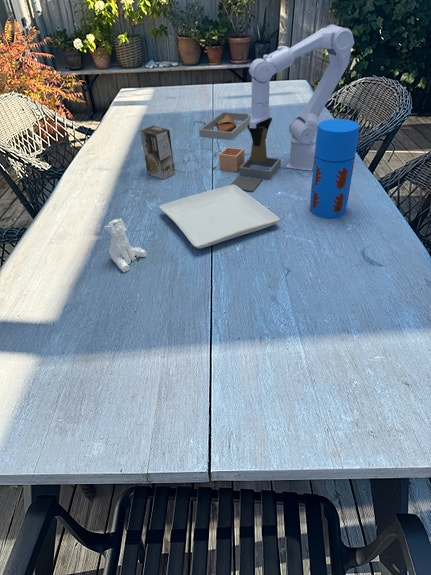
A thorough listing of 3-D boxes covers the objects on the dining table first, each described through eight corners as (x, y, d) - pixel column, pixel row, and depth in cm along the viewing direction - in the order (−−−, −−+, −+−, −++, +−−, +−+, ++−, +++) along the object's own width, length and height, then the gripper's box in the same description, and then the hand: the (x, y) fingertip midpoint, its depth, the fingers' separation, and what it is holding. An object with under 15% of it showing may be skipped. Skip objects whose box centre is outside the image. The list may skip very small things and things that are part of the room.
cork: (265, 163, 142) (267, 130, 135) (248, 161, 144) (249, 129, 137) (268, 156, 147) (270, 125, 140) (251, 155, 148) (252, 123, 141)
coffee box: (176, 174, 151) (170, 129, 141) (162, 180, 147) (156, 135, 137) (159, 168, 156) (153, 124, 146) (146, 174, 152) (139, 130, 142)
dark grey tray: (253, 120, 192) (253, 114, 190) (232, 139, 174) (231, 132, 172) (223, 118, 197) (222, 111, 195) (199, 136, 180) (198, 129, 178)
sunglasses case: (214, 122, 193) (220, 109, 189) (227, 129, 195) (233, 115, 192) (218, 134, 179) (225, 120, 175) (232, 141, 181) (239, 127, 178)
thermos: (347, 203, 126) (361, 119, 111) (344, 220, 119) (358, 133, 103) (312, 199, 130) (320, 117, 114) (306, 216, 122) (314, 131, 106)
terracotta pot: (244, 164, 153) (244, 149, 150) (237, 172, 149) (236, 156, 145) (227, 162, 156) (226, 147, 152) (219, 170, 151) (218, 154, 147)
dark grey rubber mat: (262, 181, 142) (262, 179, 142) (252, 192, 136) (252, 190, 135) (238, 177, 145) (238, 176, 145) (228, 188, 139) (228, 187, 139)
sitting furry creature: (125, 274, 105) (115, 234, 97) (101, 265, 109) (89, 226, 101) (148, 255, 111) (140, 216, 103) (124, 247, 115) (115, 209, 107)
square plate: (196, 258, 109) (195, 246, 107) (159, 215, 128) (157, 204, 126) (281, 229, 118) (281, 217, 116) (234, 192, 137) (234, 182, 135)
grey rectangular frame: (280, 166, 150) (280, 158, 148) (270, 179, 142) (270, 171, 140) (250, 163, 154) (250, 155, 152) (239, 175, 146) (239, 167, 144)
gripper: (256, 94, 139) (256, 134, 148) (240, 106, 129) (241, 149, 138) (276, 95, 137) (274, 136, 145) (261, 108, 127) (260, 151, 135)
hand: (259, 142), depth 142 cm, fingers closed on cork, 5 cm apart
